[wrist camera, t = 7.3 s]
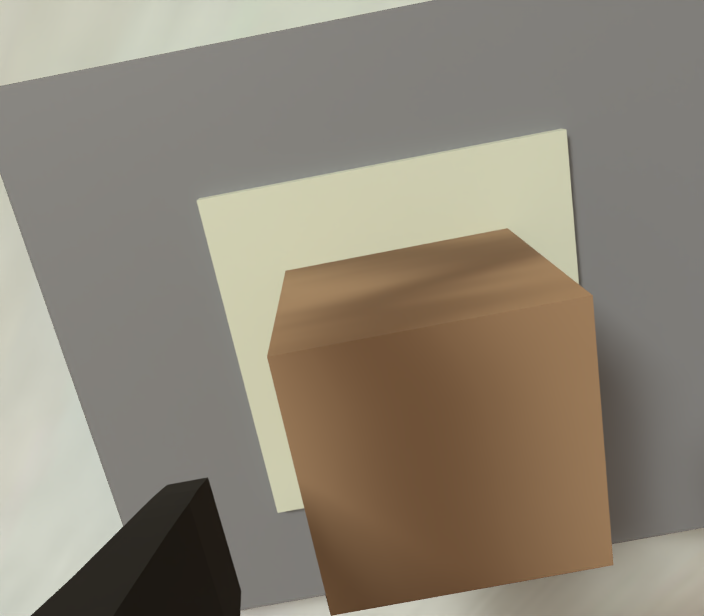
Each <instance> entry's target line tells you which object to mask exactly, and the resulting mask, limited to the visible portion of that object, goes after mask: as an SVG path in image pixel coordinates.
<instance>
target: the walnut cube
mask: <svg viewBox="0 0 704 616" xmlns="http://www.w3.org/2000/svg"><path fill="white" fill-rule="evenodd" d="M267 359H268V363H269V367H270V371H271V375H272V379H273V383H274V387H275V391H276V396H277V400H278V404H279V408H280V412H281V416H282V420H283V424H284V428H285V432H286V436H287V440H288V444H289V448H290V452H291V456H292V460H293V464H294V468H295V473H296V477H297V481H298V485H299V489H300V493H301V497H302V501H303V505H304V509H305V513H306V517H307V521H308V525H309V529H310V533H311V537H312V541H313V545H314V549H315V554H316V558H317V562H318V566H319V570H320V574H321V578H322V582H323V586H324V590H325V594H326V598H327V602H328V606H329V610H330V614H331V616H332V615H337V614H343V613H348V612H354V611H360V610H365V609H371V608H376V607H382V606H388V605H393V604H399V603H404V602H410V601H415V600H421V599H427V598H432V597H438V596H443V595H449V594H454V593H460V592H466V591H471V590H477V589H482V588H488V587H494V586H499V585H505V584H510V583H516V582H521V581H527V580H533V579H538V578H544V577H549V576H555V575H560V574H566V573H572V572H577V571H583V570H588V569H594V568H600V567H605V566H611V565H613V554H612V541H611V528H610V514H609V501H608V488H607V475H606V462H605V449H604V436H603V423H602V410H601V397H600V384H599V371H598V358H597V345H596V332H595V318H594V305H593V295H592V294H590V293H589V292H588V291H587V290H585V289H584V288H583V287H582V286H580V285H579V284H578V283H576V282H575V281H574V280H573V279H571V278H570V277H569V276H568V275H566V274H565V273H564V272H563V271H561V270H560V269H559V268H557V267H556V266H555V265H554V264H552V263H551V262H550V261H549V260H547V259H546V258H545V257H544V256H542V255H541V254H540V253H538V252H537V251H536V250H535V249H533V248H532V247H531V246H530V245H528V244H527V243H526V242H525V241H523V240H522V239H521V238H519V237H518V236H517V235H516V234H514V233H513V232H512V231H511V230H509V229H508V228H506V229H500V230H495V231H490V232H485V233H480V234H474V235H469V236H464V237H459V238H454V239H448V240H443V241H438V242H433V243H427V244H422V245H417V246H412V247H407V248H401V249H396V250H391V251H386V252H381V253H375V254H370V255H365V256H360V257H354V258H349V259H344V260H339V261H334V262H328V263H323V264H318V265H313V266H307V267H302V268H297V269H292V270H287V271H285V275H284V280H283V285H282V289H281V294H280V299H279V303H278V308H277V313H276V317H275V322H274V326H273V331H272V336H271V340H270V345H269V350H268V354H267Z"/></svg>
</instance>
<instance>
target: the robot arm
mask: <svg viewBox="0 0 704 616" xmlns="http://www.w3.org/2000/svg"><path fill="white" fill-rule="evenodd" d="M240 608H241V588H240V585H239V581H238V578H237V575H236V571H235V568H234V564H233V561H232V558H231V554H230V551H229V547H228V544H227V540H226V537H225V534H224V530H223V527H222V523H221V520H220V517H219V513H218V510H217V506H216V503H215V499H214V496H213V493H212V489H211V486H210V482H209V479H208V477H207V478H201V479H196V480H190V481H185V482H179V483H174V484H168V485H166V486H165V487H164V488H163V489H161V490H160V491H159V492H158V493H157V494H156V495H155V496H154V497H153V498H151V499H150V500H149V501H148V502H147V503H146V504H145V505H144V506H143V507H142V508H141V509H140V510H139V511H138V512H137V513H136V514H135V515H134V516H133V517H132V518H131V519H130V520H129V521H128V522H127V523H126V524H125V525H124V526H123V527H122V528H121V529H120V530H119V531H118V532H117V533H116V534H115V535H114V536H113V537H112V538H111V539H110V540H109V541H108V542H107V543H106V544H105V545H104V546H103V547H102V548H101V549H100V550H99V551H98V552H97V553H96V554H95V555H94V556H93V557H92V558H91V559H90V560H89V561H88V562H87V563H86V564H85V565H84V566H83V567H82V568H81V569H80V570H79V571H78V572H77V573H76V574H75V575H74V576H73V577H72V578H71V579H70V580H69V581H68V582H67V583H66V584H65V585H64V586H62V587H61V588H60V589H59V590H58V591H57V592H56V593H55V594H54V595H53V596H52V597H51V598H49V599H48V600H47V601H46V602H45V603H44V604H43V605H42V606H41V607H40V608H39V609H38V610H36V611H35V612H34V613H33V614H32V615H31V616H240Z"/></svg>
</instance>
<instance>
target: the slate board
mask: <svg viewBox="0 0 704 616" xmlns="http://www.w3.org/2000/svg"><path fill="white" fill-rule="evenodd" d="M0 174H1V177H2V180H3V183H4V186H5V188H6V191H7V194H8V197H9V200H10V203H11V206H12V209H13V211H14V214H15V217H16V220H17V223H18V226H19V229H20V231H21V234H22V237H23V240H24V243H25V246H26V249H27V252H28V254H29V257H30V260H31V263H32V266H33V269H34V272H35V274H36V277H37V280H38V283H39V286H40V289H41V292H42V295H43V297H44V300H45V303H46V306H47V309H48V312H49V315H50V317H51V320H52V323H53V326H54V329H55V332H56V335H57V338H58V340H59V343H60V346H61V349H62V352H63V355H64V358H65V360H66V363H67V366H68V369H69V372H70V375H71V378H72V381H73V383H74V386H75V389H76V392H77V395H78V398H79V401H80V403H81V406H82V409H83V412H84V415H85V418H86V421H87V424H88V426H89V429H90V432H91V435H92V438H93V441H94V444H95V446H96V449H97V452H98V455H99V458H100V461H101V464H102V467H103V469H104V472H105V475H106V478H107V481H108V484H109V487H110V489H111V492H112V495H113V498H114V501H115V504H116V507H117V510H118V512H119V515H120V518H121V521H122V524H123V526H124V525H125V524H126V523H127V522H128V521H129V520H130V519H131V518H132V517H133V516H134V515H135V514H136V513H137V512H138V511H139V510H140V509H141V508H142V507H143V506H144V505H145V504H146V503H147V502H148V501H149V500H150V499H151V498H153V497H154V496H155V495H156V494H157V493H158V492H159V491H160V490H161V489H163V488H164V487H165V486H166V485H168V484H174V483H179V482H185V481H190V480H196V479H201V478H207V477H208V479H209V482H210V486H211V489H212V493H213V496H214V499H215V503H216V506H217V510H218V513H219V517H220V520H221V523H222V527H223V530H224V534H225V537H226V540H227V544H228V547H229V551H230V554H231V558H232V561H233V564H234V568H235V571H236V575H237V578H238V581H239V585H240V588H241V608H240V610H244V609H250V608H256V607H261V606H267V605H272V604H278V603H284V602H289V601H295V600H300V599H306V598H312V597H317V596H323V595H326V594H325V590H324V586H323V582H322V578H321V574H320V570H319V566H318V562H317V558H316V554H315V549H314V545H313V541H312V537H311V533H310V529H309V525H308V521H307V517H306V513H305V509H304V505H303V501H302V497H301V493H300V489H299V485H298V481H297V477H296V473H295V468H294V464H293V460H292V456H291V452H290V448H289V444H288V440H287V436H286V432H285V428H284V424H283V420H282V416H281V412H280V408H279V404H278V400H277V396H276V391H275V387H274V383H273V379H272V375H271V371H270V367H269V363H268V359H267V354H268V350H269V345H270V340H271V336H272V331H273V326H274V322H275V317H276V313H277V308H278V303H279V299H280V294H281V289H282V285H283V280H284V275H285V271H287V270H292V269H297V268H302V267H307V266H313V265H318V264H323V263H328V262H334V261H339V260H344V259H349V258H354V257H360V256H365V255H370V254H375V253H381V252H386V251H391V250H396V249H401V248H407V247H412V246H417V245H422V244H427V243H433V242H438V241H443V240H448V239H454V238H459V237H464V236H469V235H474V234H480V233H485V232H490V231H495V230H500V229H506V228H508V229H509V230H511V231H512V232H513V233H514V234H516V235H517V236H518V237H519V238H521V239H522V240H523V241H525V242H526V243H527V244H528V245H530V246H531V247H532V248H533V249H535V250H536V251H537V252H538V253H540V254H541V255H542V256H544V257H545V258H546V259H547V260H549V261H550V262H551V263H552V264H554V265H555V266H556V267H557V268H559V269H560V270H561V271H563V272H564V273H565V274H566V275H568V276H569V277H570V278H571V279H573V280H574V281H575V282H576V283H578V284H579V285H580V286H582V287H583V288H584V289H585V290H587V291H588V292H589V293H590V294H592V295H593V305H594V318H595V332H596V345H597V358H598V371H599V384H600V397H601V410H602V423H603V436H604V449H605V462H606V475H607V488H608V501H609V514H610V528H611V541H612V544H615V543H620V542H626V541H632V540H637V539H643V538H648V537H654V536H660V535H665V534H671V533H676V532H682V531H688V530H693V529H699V528H704V0H433V1H428V2H423V3H418V4H413V5H408V6H402V7H397V8H392V9H387V10H382V11H377V12H372V13H367V14H362V15H357V16H352V17H347V18H342V19H337V20H332V21H327V22H322V23H317V24H311V25H306V26H301V27H296V28H291V29H286V30H281V31H276V32H271V33H266V34H261V35H256V36H251V37H246V38H241V39H236V40H231V41H226V42H220V43H215V44H210V45H205V46H200V47H195V48H190V49H185V50H180V51H175V52H170V53H165V54H160V55H155V56H150V57H145V58H140V59H135V60H129V61H124V62H119V63H114V64H109V65H104V66H99V67H94V68H89V69H84V70H79V71H74V72H69V73H64V74H59V75H54V76H49V77H44V78H39V79H33V80H28V81H23V82H18V83H13V84H8V85H3V86H0Z"/></svg>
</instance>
